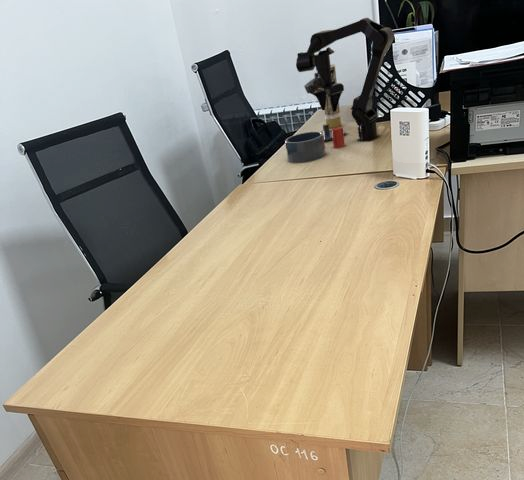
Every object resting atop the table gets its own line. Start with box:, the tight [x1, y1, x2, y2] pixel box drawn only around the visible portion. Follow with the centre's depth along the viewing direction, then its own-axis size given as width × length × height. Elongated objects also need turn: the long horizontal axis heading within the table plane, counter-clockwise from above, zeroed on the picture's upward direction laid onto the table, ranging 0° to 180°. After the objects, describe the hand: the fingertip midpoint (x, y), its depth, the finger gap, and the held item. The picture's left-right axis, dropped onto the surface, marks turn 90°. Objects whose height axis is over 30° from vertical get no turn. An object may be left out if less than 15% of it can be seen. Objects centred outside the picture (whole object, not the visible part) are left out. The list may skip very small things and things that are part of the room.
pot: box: [284, 131, 326, 164], centre depth 210 cm, size 15×15×8 cm
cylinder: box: [331, 126, 346, 149], centre depth 214 cm, size 4×4×7 cm
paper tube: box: [323, 63, 342, 129], centre depth 240 cm, size 7×7×25 cm
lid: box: [320, 123, 347, 142], centre depth 231 cm, size 16×16×5 cm
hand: (328, 110), depth 219 cm, fingers open, 9 cm apart
